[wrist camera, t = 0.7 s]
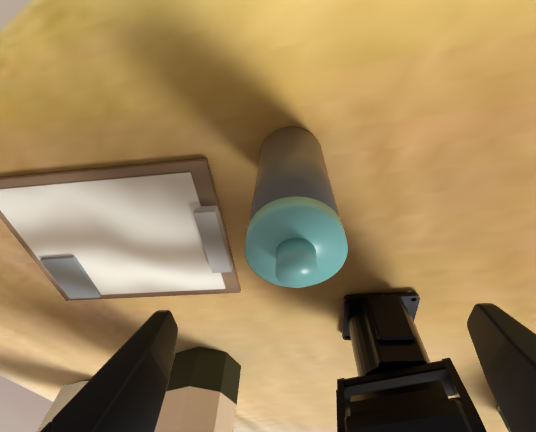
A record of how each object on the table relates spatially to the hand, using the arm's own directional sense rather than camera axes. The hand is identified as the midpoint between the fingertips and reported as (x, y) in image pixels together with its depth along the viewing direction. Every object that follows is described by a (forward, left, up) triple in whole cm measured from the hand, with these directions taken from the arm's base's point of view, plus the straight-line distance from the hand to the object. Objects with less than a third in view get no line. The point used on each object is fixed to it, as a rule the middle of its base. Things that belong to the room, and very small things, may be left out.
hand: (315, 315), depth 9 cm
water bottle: (0, +1, -12) cm, 12 cm away
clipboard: (-6, +15, -12) cm, 20 cm away
